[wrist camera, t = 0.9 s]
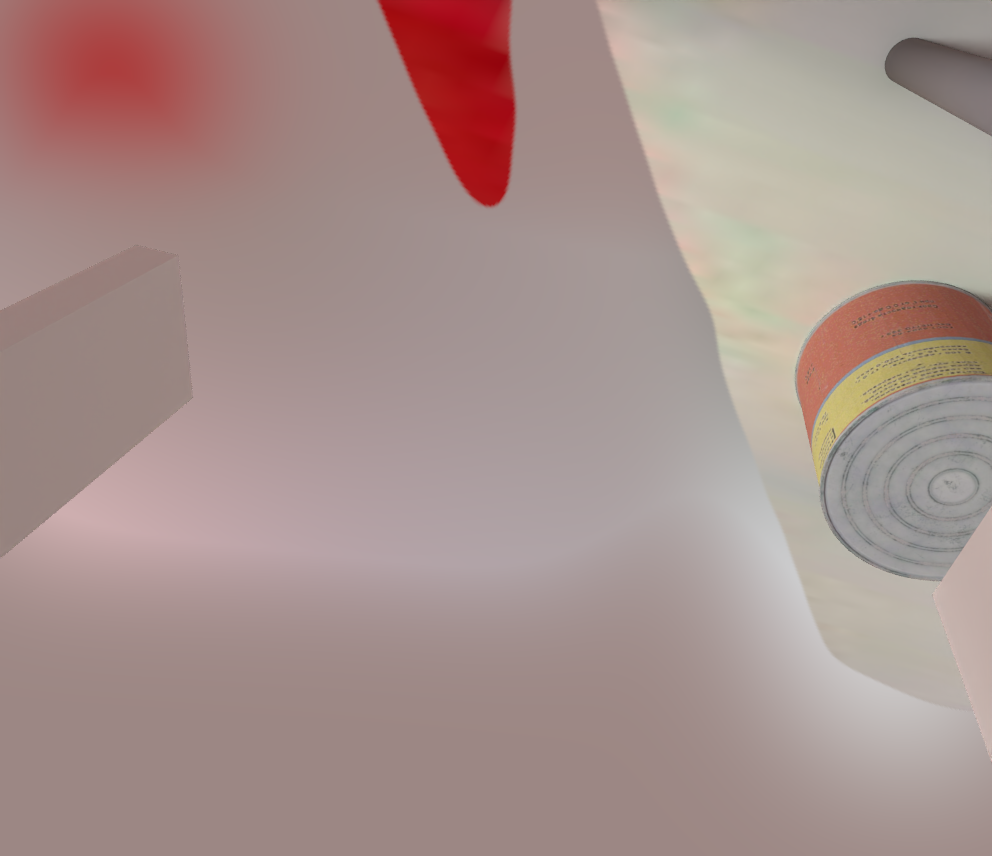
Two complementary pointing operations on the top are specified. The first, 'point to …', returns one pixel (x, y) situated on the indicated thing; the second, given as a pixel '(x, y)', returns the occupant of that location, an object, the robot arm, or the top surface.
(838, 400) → the canned food
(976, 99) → the grey l-shaped post
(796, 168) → the top surface
